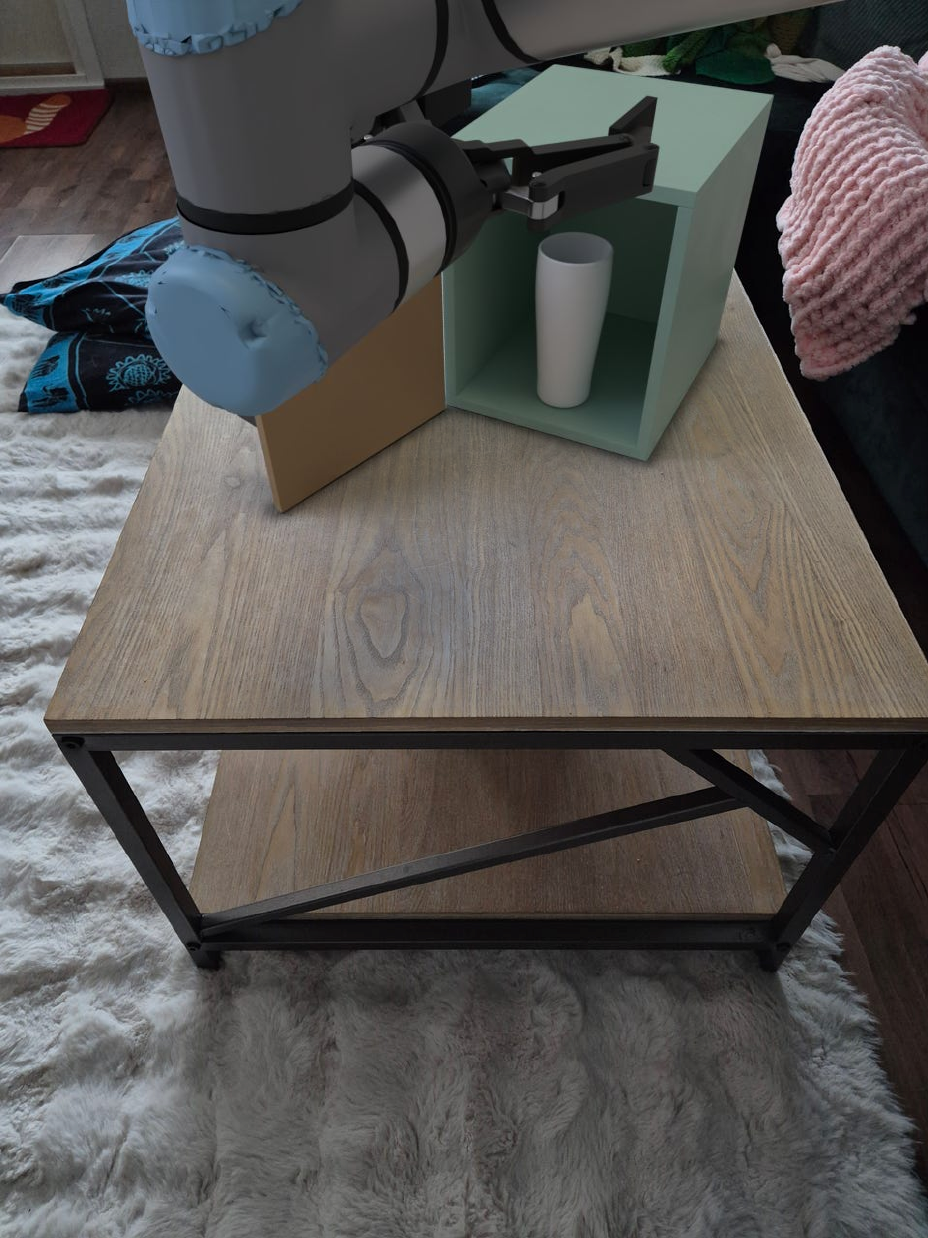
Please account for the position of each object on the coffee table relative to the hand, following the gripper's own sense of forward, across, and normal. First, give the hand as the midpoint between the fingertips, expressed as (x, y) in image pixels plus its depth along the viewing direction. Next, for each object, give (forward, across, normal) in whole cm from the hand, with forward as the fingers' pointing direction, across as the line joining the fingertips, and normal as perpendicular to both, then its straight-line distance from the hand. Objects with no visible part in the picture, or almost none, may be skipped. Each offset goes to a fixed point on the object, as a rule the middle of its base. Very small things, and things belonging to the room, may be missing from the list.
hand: (554, 100), depth 58 cm
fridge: (+16, -1, -30) cm, 34 cm away
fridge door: (-6, -16, -30) cm, 35 cm away
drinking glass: (+9, 0, -29) cm, 31 cm away
